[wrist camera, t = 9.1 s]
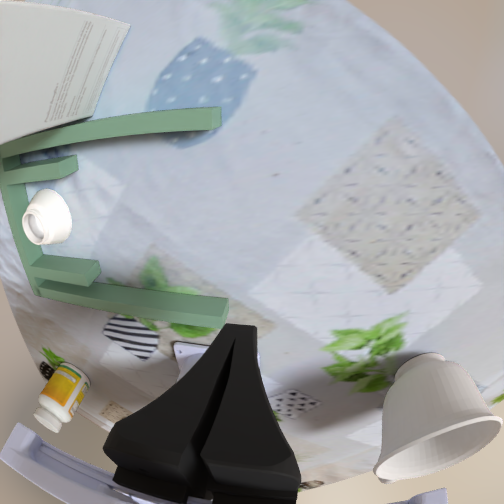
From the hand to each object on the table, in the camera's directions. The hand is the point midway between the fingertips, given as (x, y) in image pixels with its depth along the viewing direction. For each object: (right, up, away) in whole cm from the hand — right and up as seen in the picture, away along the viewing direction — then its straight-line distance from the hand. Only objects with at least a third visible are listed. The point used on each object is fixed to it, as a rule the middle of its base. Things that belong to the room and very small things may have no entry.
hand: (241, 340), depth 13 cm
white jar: (-17, +7, +9) cm, 20 cm away
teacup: (+17, -9, +13) cm, 23 cm away
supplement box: (-12, +18, +3) cm, 21 cm away
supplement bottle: (-25, -13, +22) cm, 36 cm away
